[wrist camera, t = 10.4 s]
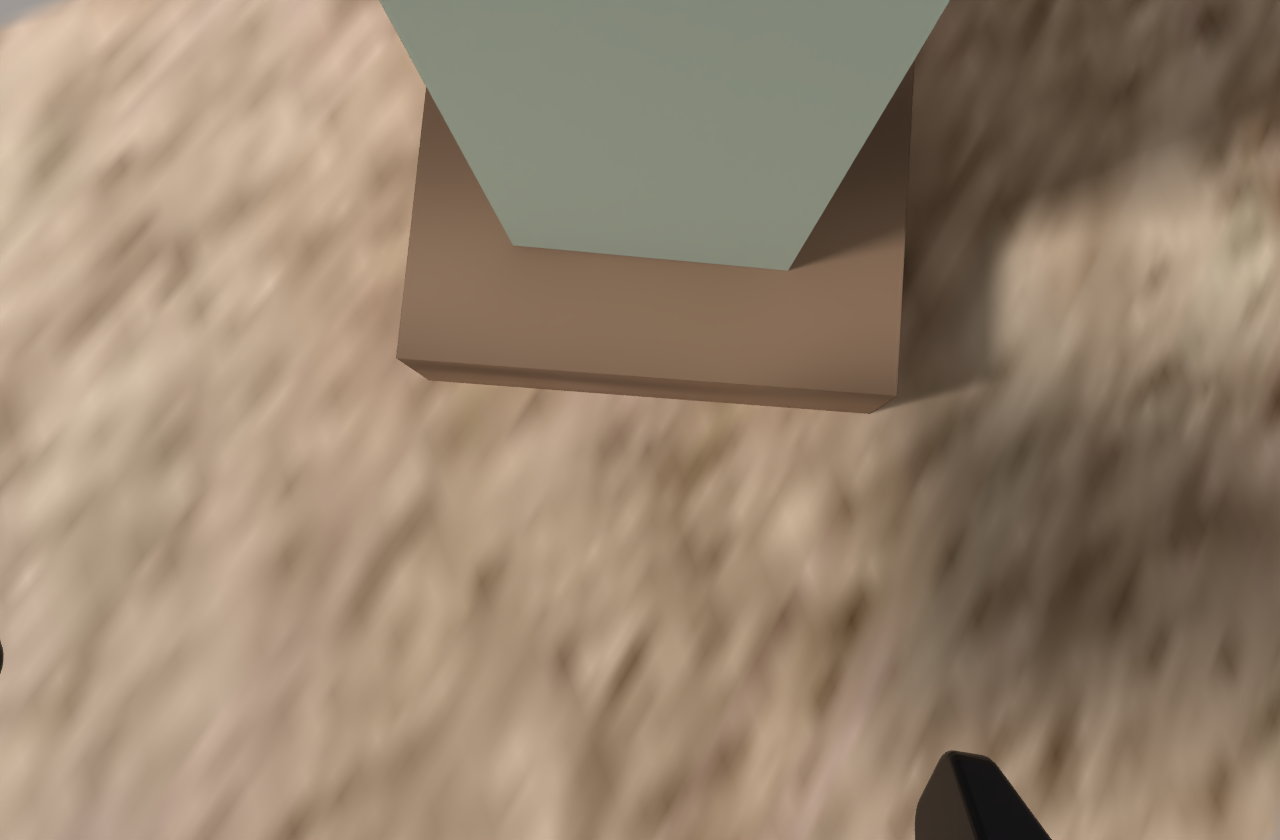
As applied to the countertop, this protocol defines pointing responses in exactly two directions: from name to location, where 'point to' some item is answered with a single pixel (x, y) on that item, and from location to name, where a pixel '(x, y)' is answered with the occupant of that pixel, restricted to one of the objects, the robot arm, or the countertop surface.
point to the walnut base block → (662, 297)
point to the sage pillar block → (663, 114)
